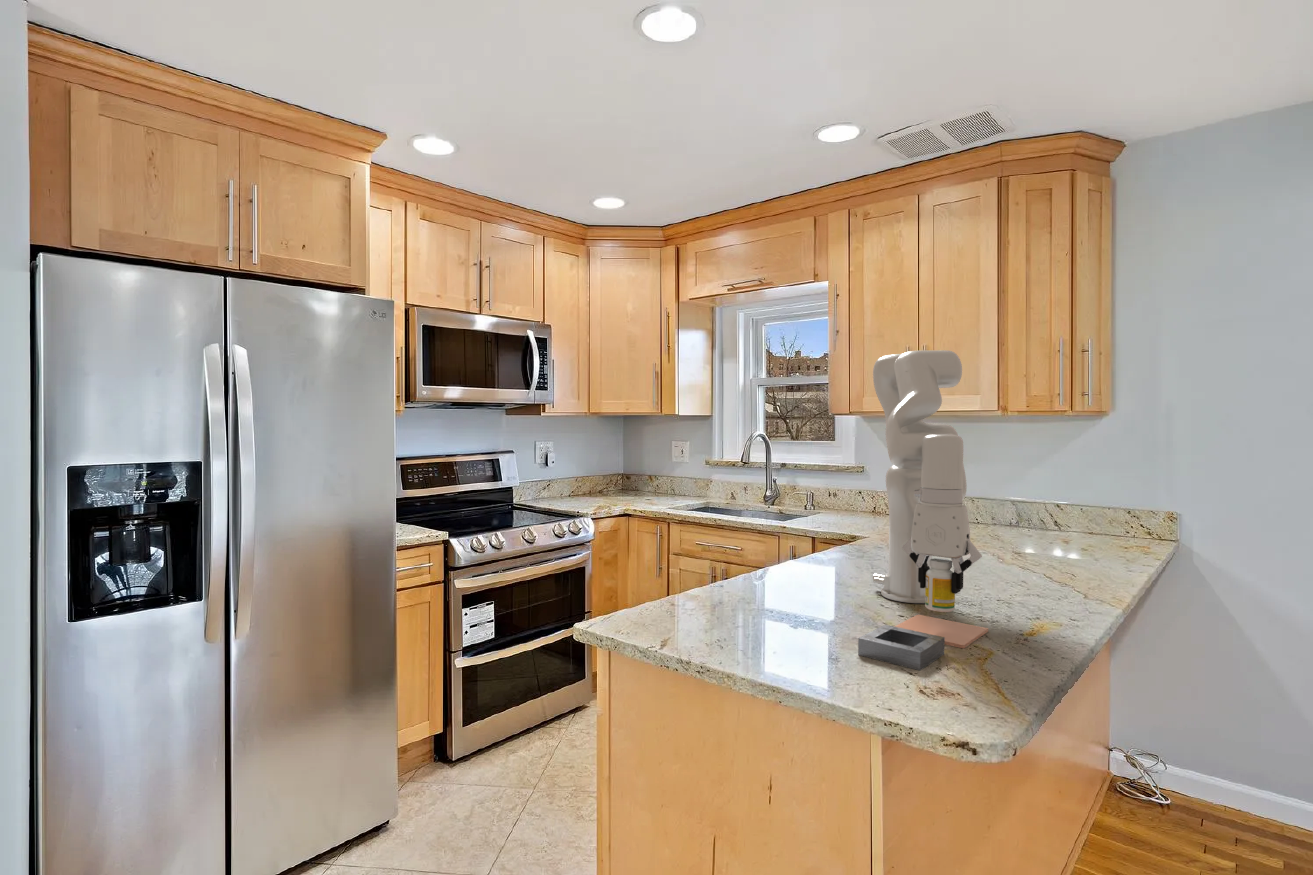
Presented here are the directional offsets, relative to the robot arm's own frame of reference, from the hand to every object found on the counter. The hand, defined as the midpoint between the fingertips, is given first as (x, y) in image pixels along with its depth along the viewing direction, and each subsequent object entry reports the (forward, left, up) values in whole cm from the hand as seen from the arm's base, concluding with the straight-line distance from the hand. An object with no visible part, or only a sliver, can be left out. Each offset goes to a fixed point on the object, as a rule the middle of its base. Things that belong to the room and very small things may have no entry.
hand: (940, 588), depth 135 cm
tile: (0, 0, -9) cm, 9 cm away
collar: (0, -18, -9) cm, 20 cm away
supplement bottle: (0, 0, -4) cm, 4 cm away
